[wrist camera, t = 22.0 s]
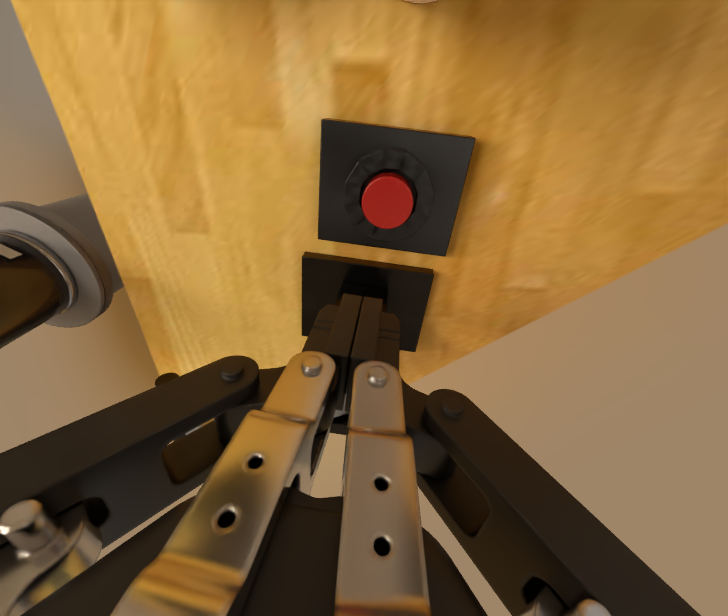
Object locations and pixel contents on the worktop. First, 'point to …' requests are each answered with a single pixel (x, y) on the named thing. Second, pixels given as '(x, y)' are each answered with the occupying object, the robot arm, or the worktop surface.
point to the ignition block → (397, 155)
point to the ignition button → (387, 200)
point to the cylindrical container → (420, 1)
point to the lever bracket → (370, 279)
